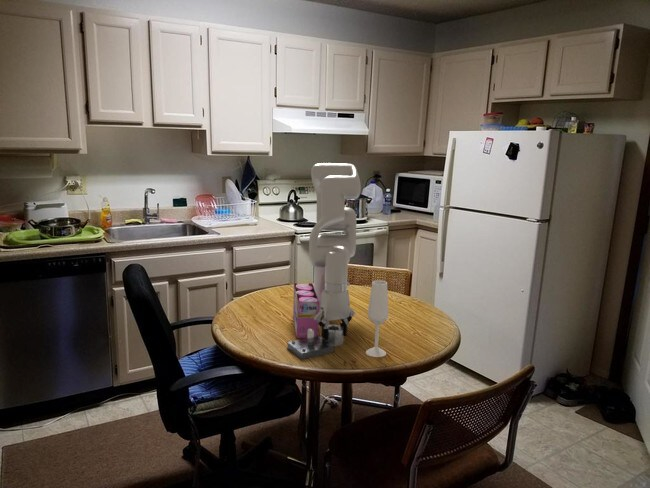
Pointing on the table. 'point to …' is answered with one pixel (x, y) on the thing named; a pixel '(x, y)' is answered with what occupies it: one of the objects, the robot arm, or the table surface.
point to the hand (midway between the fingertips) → (334, 336)
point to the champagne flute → (378, 313)
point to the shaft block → (310, 346)
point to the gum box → (305, 309)
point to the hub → (335, 335)
